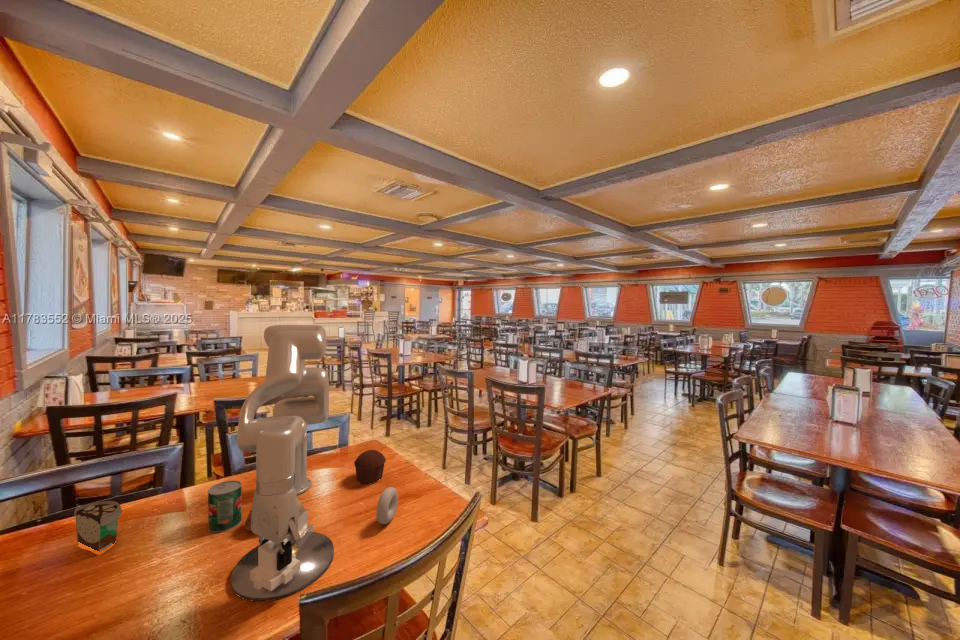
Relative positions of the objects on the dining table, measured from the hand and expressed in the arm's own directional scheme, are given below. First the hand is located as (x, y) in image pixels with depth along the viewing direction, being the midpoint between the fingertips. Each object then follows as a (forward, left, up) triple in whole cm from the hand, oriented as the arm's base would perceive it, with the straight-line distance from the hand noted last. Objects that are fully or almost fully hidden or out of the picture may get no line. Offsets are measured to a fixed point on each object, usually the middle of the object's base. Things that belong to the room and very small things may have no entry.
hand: (276, 561), depth 79 cm
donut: (+6, +31, -7) cm, 32 cm away
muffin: (-17, +49, -7) cm, 53 cm away
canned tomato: (-35, +9, -7) cm, 37 cm away
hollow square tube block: (0, 0, -3) cm, 3 cm away
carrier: (-5, +6, -6) cm, 10 cm away
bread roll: (-23, +16, -7) cm, 29 cm away
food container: (-54, -10, -7) cm, 55 cm away
